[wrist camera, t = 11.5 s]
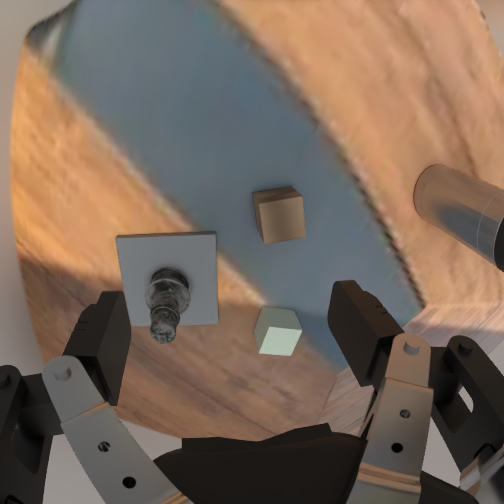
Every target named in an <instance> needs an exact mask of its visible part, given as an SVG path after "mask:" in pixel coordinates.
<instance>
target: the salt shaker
mask: <svg viewBox="0 0 504 504" xmlns="http://www.w3.org/2000/svg"><path fill="white" fill-rule="evenodd" d="M188 289H189V282H188V279H187V277H186V275H185V274H184V273H183V272H181V271H180V270H178V269H176V268H171V267H166V268H161V269H159V270H157V271H156V272H155V273H154V274H153V276H152V278H151V281H150V285H149V286H148V287H147V289H146V292H145V302H146V305H147V306H148V308H149V309H150V310H151V311H150V320H151V328H150V334H151V337H152V338H153V339H154V340H155V341H157V342H158V343H161V344H166V343H170V342H171V341H173V340H174V338H175V336H176V326H177V325H178V324H179V322H180V315H182V314H183V313H185V312H186V310H187V309H188V308H189V305H190V300H191V298H190V293H189V291H188Z"/></svg>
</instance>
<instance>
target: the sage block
mask: <svg viewBox="0 0 504 504" xmlns="http://www.w3.org/2000/svg"><path fill="white" fill-rule="evenodd" d="M301 332H302V328H301V326H300V324H299V321H298V319H297V317H296V314H295V312H294V310H288V309H280V308H273V307H266V306H263V307H262V310H261V313H260V316H259V318H258V321H257V324H256V327H255V330H254V335H255V339H256V343H257V348H258V352H259V353H263V354H274V355H287V356H291V354H292V352H293V350H294V348H295V345H296V343H297V341H298V339H299V337H300V335H301Z"/></svg>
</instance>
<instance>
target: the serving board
mask: <svg viewBox="0 0 504 504" xmlns="http://www.w3.org/2000/svg"><path fill="white" fill-rule="evenodd" d="M115 240H116V247H117V253H118V259H119V265H120V271H121V277H122V282H123V287H124V292H125V297H126V302H127V307H128V312H129V316H130V320H131V325H132V326H151V320H150V311H151V310H150V309H149V308H148V306H147V305H146V302H145V292H146V289H147V287H148V286H149V285H150V281H151V278H152V276H153V274H154V273H155V272H156V271H157V270H159V269H161V268H166V267H171V268H176V269H178V270H180V271H181V272H183V273H184V274H185V275H186V277H187V279H188V282H189V289H188V291H189V293H190V298H191V300H190V305H189V308H188V309H187V310H186V312H185V313H183V314H182V315H180V322H179V324H178V325H177V326H179V325H206V324H218V301H217V268H216V232H189V233H164V234H140V235H119V236H117V237H116V238H115Z"/></svg>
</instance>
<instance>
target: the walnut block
mask: <svg viewBox="0 0 504 504" xmlns="http://www.w3.org/2000/svg"><path fill="white" fill-rule="evenodd" d="M252 194H253V201H254V208H255V214H256V221H257V228H258V231H259V233H260V236H261V238H262V240H263V242H264V244H265V245H266V244H271V243H276V242H281V241H287V240H292V239H297V238H302V237H306V231H305V219H304V207H303V196H302V195H300V194H299V193H298V192H297V191H296V190H295V189H294V188H293V187H292V186H289V187H282V188H276V189H270V190H265V191H259V192H253V193H252Z"/></svg>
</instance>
